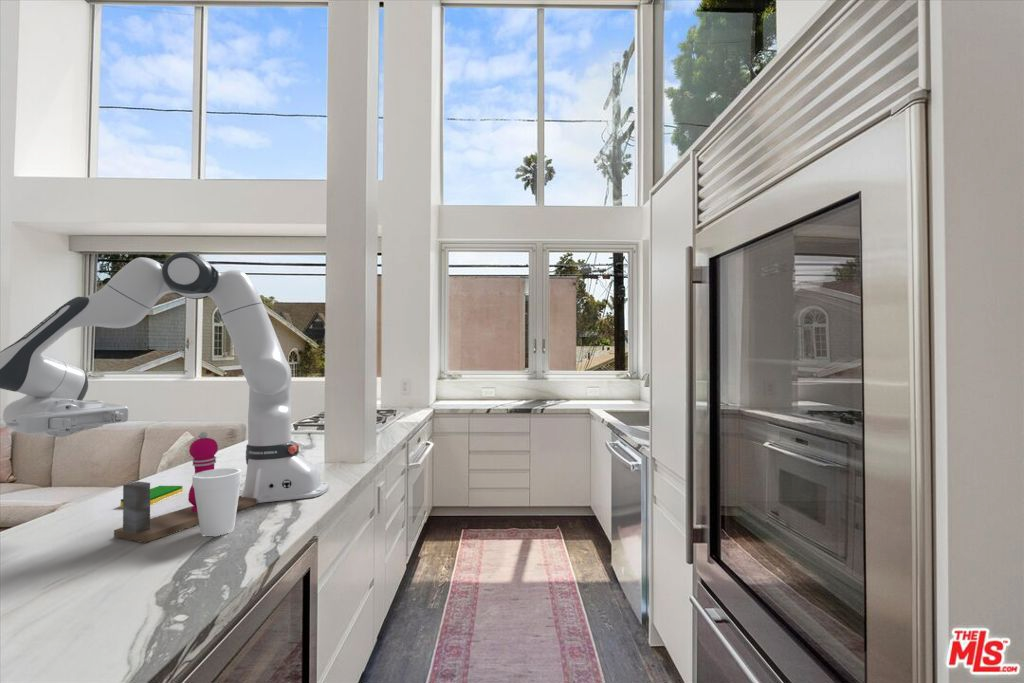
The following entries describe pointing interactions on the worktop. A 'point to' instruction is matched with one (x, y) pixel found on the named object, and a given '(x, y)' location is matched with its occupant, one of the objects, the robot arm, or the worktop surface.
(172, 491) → the dish sponge
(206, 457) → the pepper mill
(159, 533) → the strip
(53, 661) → the worktop surface
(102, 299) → the robot arm
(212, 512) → the foam cup
